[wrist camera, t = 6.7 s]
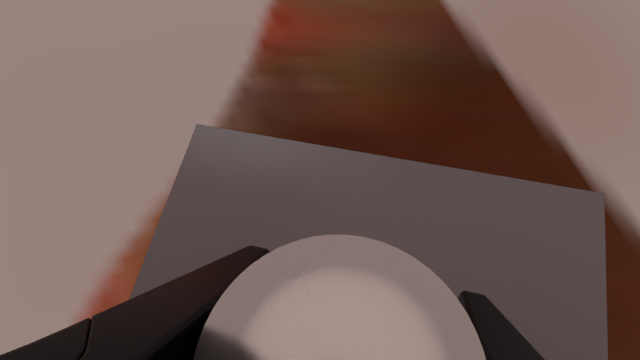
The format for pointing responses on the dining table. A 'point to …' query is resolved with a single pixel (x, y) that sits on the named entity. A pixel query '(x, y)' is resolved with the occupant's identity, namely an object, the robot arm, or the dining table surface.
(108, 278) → the dining table surface
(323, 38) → the dining table surface
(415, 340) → the pump plunger
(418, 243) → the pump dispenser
